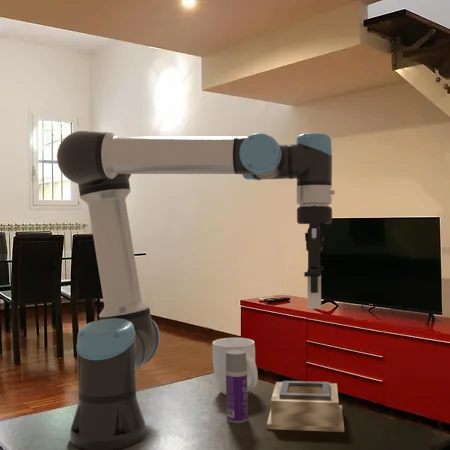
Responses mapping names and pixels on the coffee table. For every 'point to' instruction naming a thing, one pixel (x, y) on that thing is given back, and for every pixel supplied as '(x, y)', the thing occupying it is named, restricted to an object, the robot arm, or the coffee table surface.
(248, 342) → the mug
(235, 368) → the container
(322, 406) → the socket
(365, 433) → the coffee table surface
